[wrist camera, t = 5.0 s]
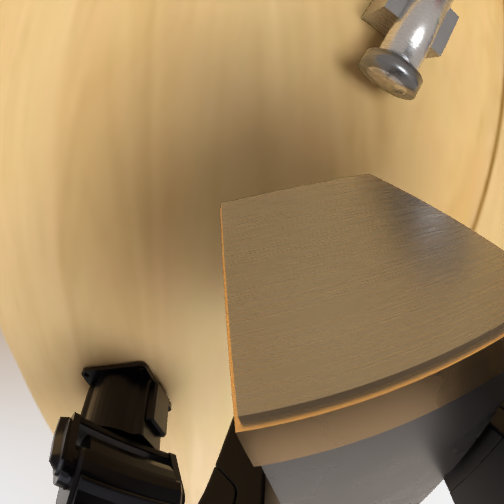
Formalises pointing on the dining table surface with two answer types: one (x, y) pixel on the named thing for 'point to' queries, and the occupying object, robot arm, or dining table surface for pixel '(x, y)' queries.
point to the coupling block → (359, 339)
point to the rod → (405, 42)
